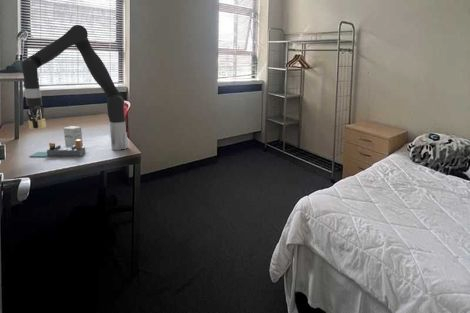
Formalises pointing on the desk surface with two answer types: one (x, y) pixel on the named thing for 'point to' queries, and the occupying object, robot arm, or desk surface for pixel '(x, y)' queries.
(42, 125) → the tan rectangular block
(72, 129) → the supplement box
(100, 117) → the desk surface
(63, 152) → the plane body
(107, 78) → the robot arm
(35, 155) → the mat
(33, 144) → the desk surface
